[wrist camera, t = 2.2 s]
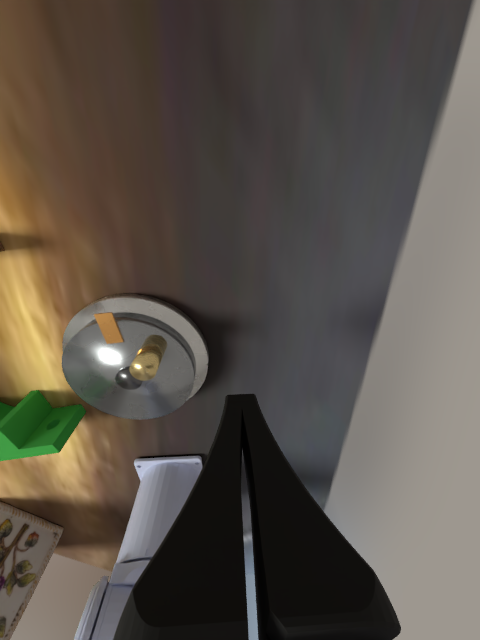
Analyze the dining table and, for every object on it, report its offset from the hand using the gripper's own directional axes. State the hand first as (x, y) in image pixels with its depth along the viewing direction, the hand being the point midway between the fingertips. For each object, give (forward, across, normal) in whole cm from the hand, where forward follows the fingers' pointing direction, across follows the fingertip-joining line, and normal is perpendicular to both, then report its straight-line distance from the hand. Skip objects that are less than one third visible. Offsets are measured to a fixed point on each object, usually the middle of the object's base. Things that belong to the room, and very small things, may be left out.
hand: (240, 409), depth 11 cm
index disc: (+8, +9, +3) cm, 12 cm away
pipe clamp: (+10, +21, +10) cm, 25 cm away
